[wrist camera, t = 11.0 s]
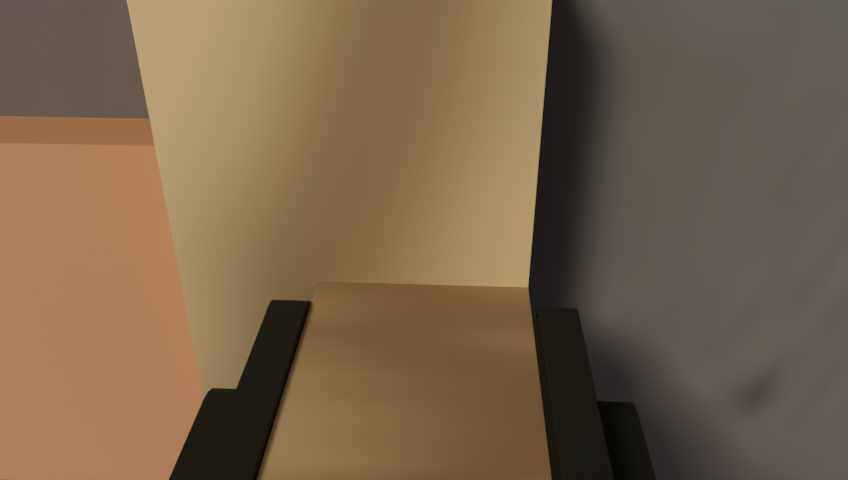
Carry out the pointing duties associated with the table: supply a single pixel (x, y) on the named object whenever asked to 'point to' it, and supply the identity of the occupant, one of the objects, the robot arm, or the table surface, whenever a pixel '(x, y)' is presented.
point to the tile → (89, 305)
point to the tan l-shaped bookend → (361, 220)
